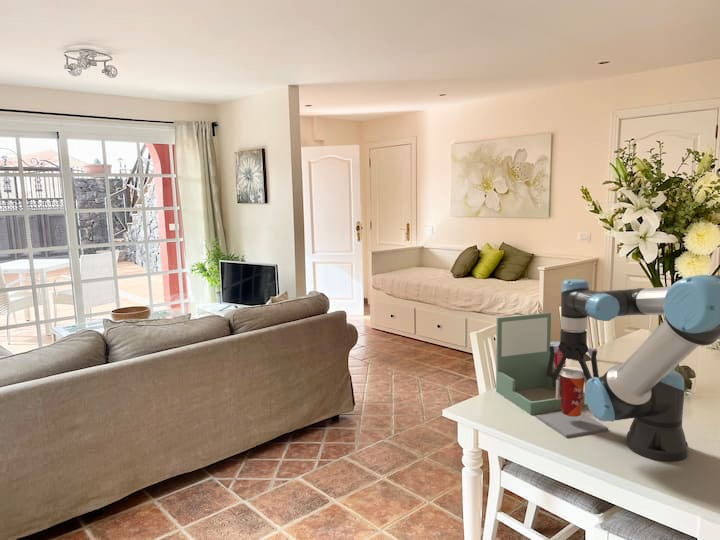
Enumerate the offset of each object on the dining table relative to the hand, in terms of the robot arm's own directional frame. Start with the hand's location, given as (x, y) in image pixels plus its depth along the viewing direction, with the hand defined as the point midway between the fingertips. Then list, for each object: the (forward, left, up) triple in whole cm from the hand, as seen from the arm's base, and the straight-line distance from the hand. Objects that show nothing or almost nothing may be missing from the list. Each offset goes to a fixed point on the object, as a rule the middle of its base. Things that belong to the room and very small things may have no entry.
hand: (571, 400), depth 162 cm
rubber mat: (0, 0, -8) cm, 8 cm away
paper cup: (0, 0, -4) cm, 4 cm away
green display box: (+21, -3, -8) cm, 23 cm away
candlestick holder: (+55, -46, -8) cm, 72 cm away
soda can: (+41, -24, -8) cm, 48 cm away
